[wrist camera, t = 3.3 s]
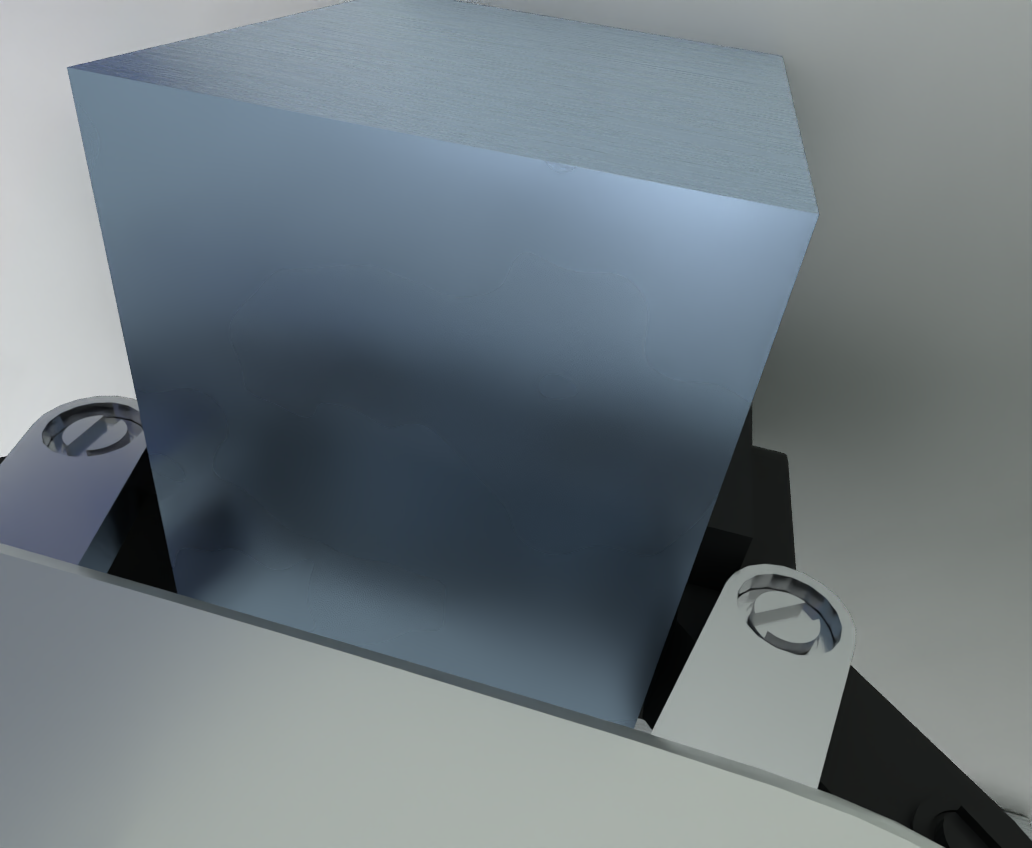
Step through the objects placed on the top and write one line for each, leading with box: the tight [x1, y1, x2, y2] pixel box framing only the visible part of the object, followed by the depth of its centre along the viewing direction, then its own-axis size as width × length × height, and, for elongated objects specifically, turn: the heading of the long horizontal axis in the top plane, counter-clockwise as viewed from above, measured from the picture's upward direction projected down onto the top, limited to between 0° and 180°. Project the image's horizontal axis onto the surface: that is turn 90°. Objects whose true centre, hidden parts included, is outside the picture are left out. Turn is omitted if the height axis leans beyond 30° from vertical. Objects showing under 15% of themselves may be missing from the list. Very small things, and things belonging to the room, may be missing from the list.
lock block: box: [67, 0, 819, 729], centre depth 10 cm, size 5×10×6 cm, turn 173°
